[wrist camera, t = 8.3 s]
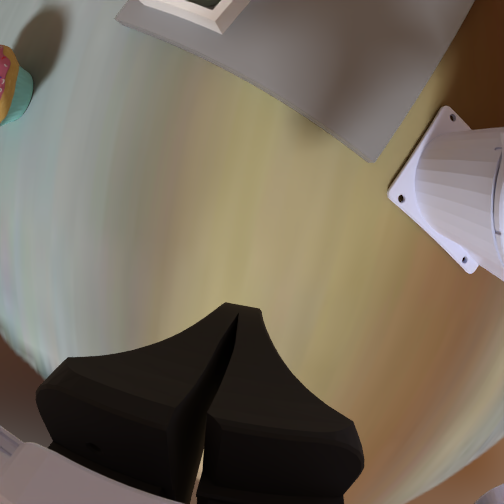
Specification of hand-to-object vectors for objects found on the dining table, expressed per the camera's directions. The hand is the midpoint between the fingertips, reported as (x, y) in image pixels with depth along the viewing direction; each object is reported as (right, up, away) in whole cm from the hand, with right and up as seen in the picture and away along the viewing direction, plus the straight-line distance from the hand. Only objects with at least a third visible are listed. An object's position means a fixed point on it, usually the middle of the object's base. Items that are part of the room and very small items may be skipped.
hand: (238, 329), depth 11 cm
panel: (+6, +23, +2) cm, 24 cm away
